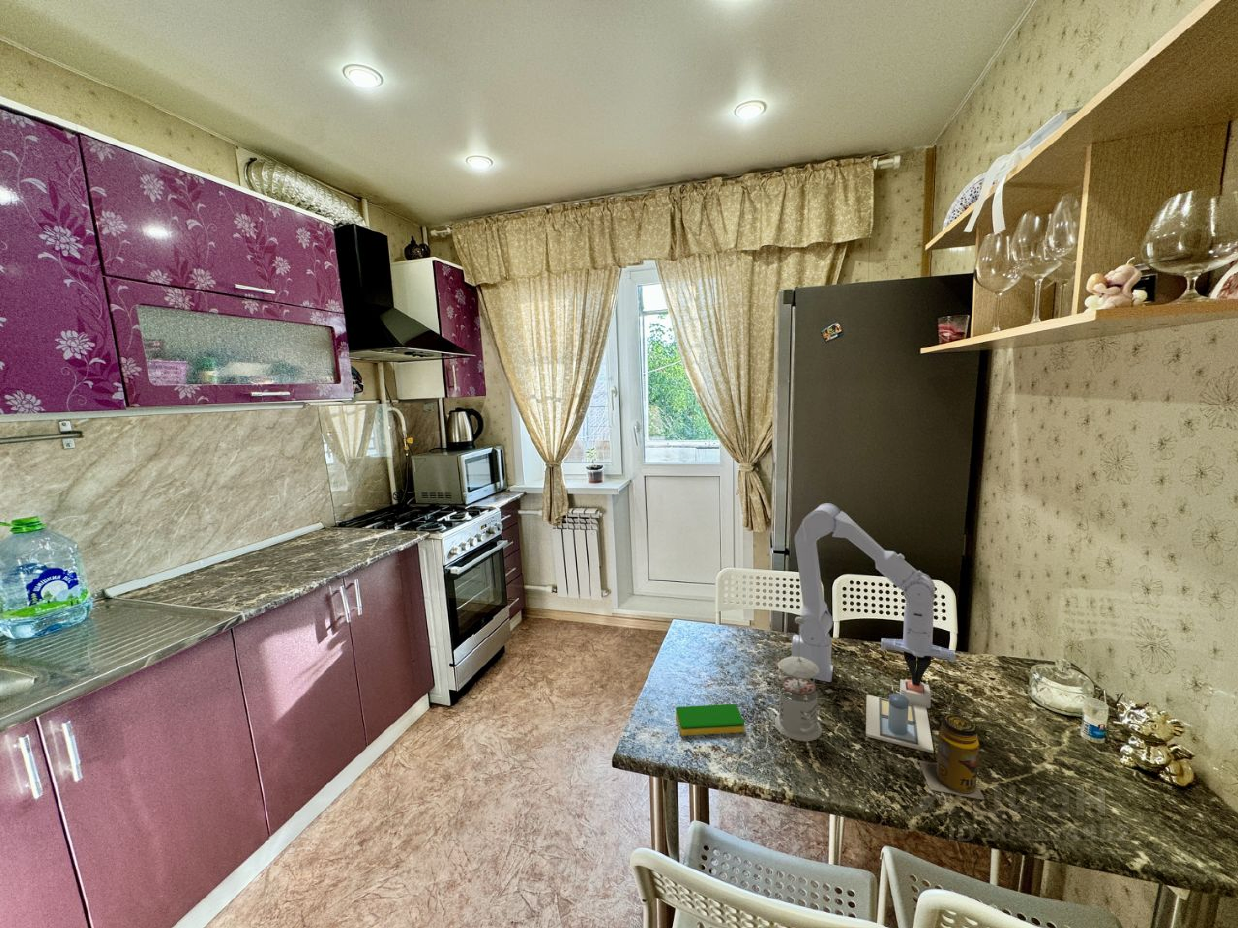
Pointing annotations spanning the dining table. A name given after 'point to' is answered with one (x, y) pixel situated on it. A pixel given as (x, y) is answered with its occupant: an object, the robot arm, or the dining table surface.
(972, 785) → the condiment
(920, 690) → the button
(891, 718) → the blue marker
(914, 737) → the sheet
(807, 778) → the dining table surface
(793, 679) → the french press
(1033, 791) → the dining table surface
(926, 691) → the button housing
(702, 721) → the dish sponge
